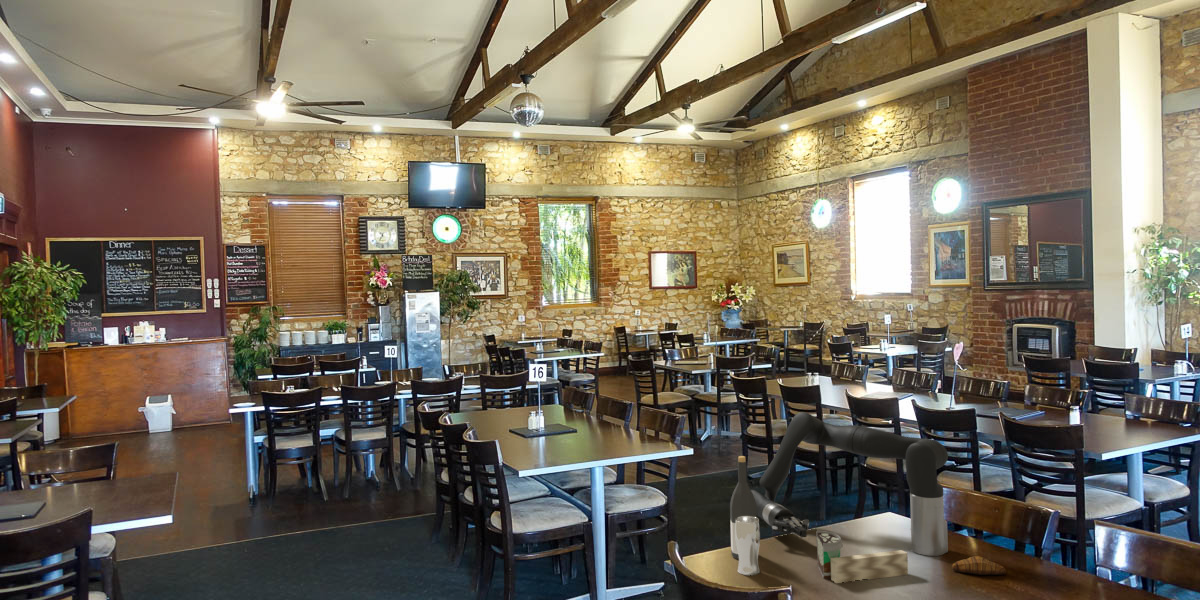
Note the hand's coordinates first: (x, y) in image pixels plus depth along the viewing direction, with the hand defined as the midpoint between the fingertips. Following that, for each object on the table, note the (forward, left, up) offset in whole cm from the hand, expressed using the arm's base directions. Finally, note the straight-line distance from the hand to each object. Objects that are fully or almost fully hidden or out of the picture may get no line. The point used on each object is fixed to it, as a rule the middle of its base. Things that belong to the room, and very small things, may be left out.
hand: (804, 534), depth 221 cm
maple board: (-8, +22, -6) cm, 24 cm away
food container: (0, +15, -6) cm, 17 cm away
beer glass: (+22, +8, -6) cm, 24 cm away
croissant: (-38, +27, -6) cm, 47 cm away
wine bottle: (+18, -4, -6) cm, 19 cm away
